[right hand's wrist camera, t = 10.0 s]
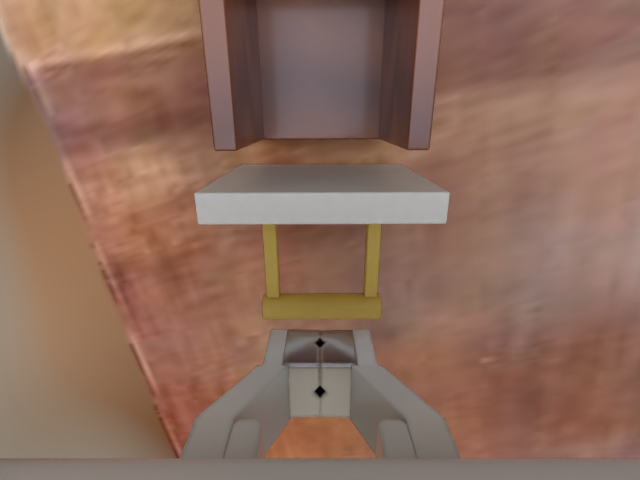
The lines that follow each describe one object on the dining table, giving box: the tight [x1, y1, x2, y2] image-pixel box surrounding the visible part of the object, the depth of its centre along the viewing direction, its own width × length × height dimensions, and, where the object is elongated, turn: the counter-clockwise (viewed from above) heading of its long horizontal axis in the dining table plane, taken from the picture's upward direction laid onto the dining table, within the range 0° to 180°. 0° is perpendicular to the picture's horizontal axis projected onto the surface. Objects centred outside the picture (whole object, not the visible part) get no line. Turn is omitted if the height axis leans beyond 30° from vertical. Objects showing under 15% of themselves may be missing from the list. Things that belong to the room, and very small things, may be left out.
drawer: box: [194, 0, 450, 319], centre depth 14 cm, size 22×9×8 cm, turn 0°
